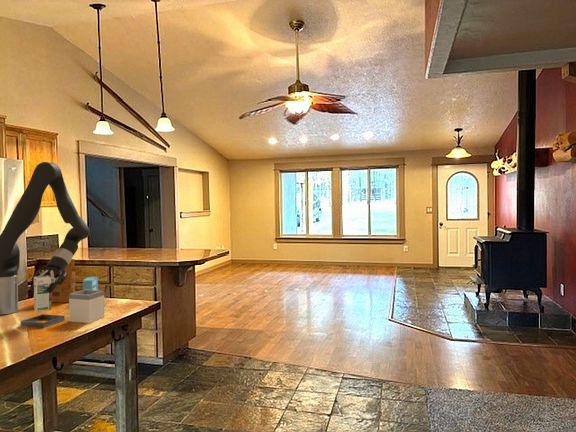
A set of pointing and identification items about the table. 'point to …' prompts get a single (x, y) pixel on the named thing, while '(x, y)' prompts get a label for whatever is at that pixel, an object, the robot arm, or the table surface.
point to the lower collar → (52, 320)
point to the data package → (90, 283)
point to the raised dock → (86, 306)
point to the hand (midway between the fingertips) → (40, 291)
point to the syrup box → (42, 293)
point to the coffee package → (65, 286)
